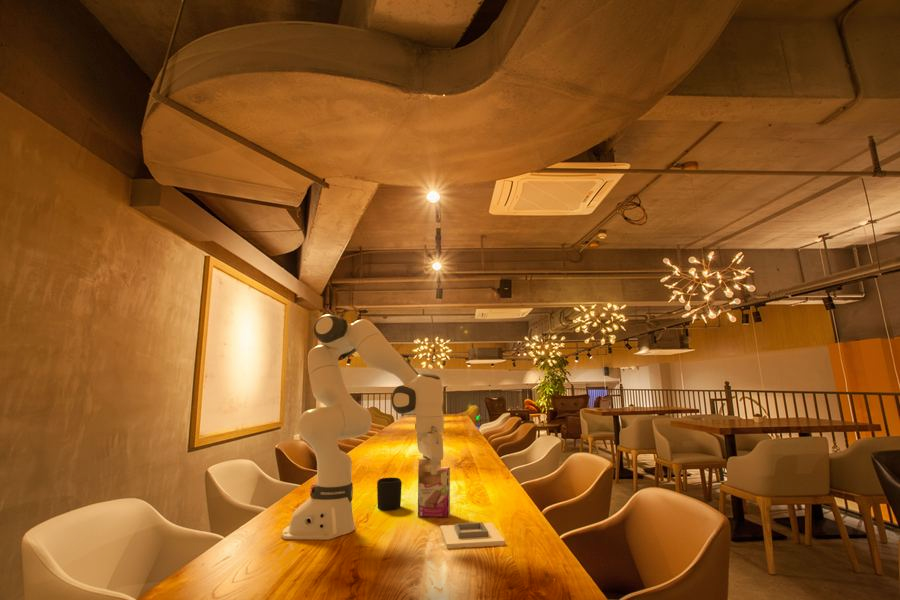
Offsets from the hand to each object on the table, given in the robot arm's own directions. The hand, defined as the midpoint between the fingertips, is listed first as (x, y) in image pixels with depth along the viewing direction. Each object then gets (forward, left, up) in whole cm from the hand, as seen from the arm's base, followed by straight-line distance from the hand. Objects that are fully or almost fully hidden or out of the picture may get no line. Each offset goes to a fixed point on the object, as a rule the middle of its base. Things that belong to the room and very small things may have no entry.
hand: (430, 471), depth 137 cm
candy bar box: (+3, +24, -20) cm, 31 cm away
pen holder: (-13, +38, -20) cm, 45 cm away
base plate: (+12, 0, -19) cm, 23 cm away
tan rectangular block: (0, 0, -3) cm, 3 cm away
